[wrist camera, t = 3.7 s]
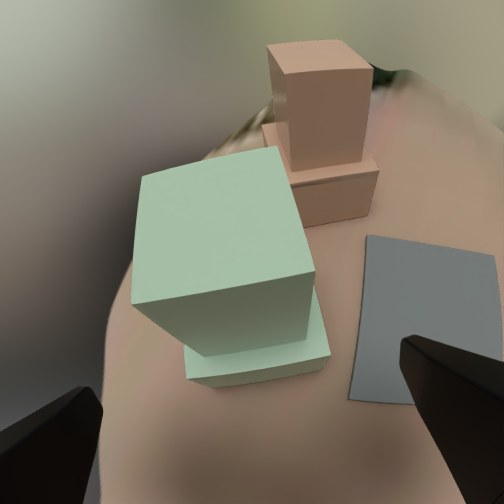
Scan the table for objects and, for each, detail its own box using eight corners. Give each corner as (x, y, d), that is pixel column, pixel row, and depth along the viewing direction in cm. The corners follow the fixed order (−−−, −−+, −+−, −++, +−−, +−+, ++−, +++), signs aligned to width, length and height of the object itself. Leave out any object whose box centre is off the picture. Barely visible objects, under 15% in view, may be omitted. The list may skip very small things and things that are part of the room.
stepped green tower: (321, 369, 18) (363, 298, 7) (213, 388, 18) (100, 342, 7) (299, 273, 21) (297, 125, 11) (203, 292, 22) (122, 166, 11)
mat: (496, 402, 14) (499, 402, 13) (347, 399, 16) (349, 399, 16) (491, 258, 19) (494, 255, 19) (365, 238, 22) (367, 234, 22)
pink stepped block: (367, 215, 23) (397, 76, 12) (283, 231, 23) (268, 84, 13) (339, 158, 27) (347, 35, 16) (267, 170, 27) (248, 43, 16)
